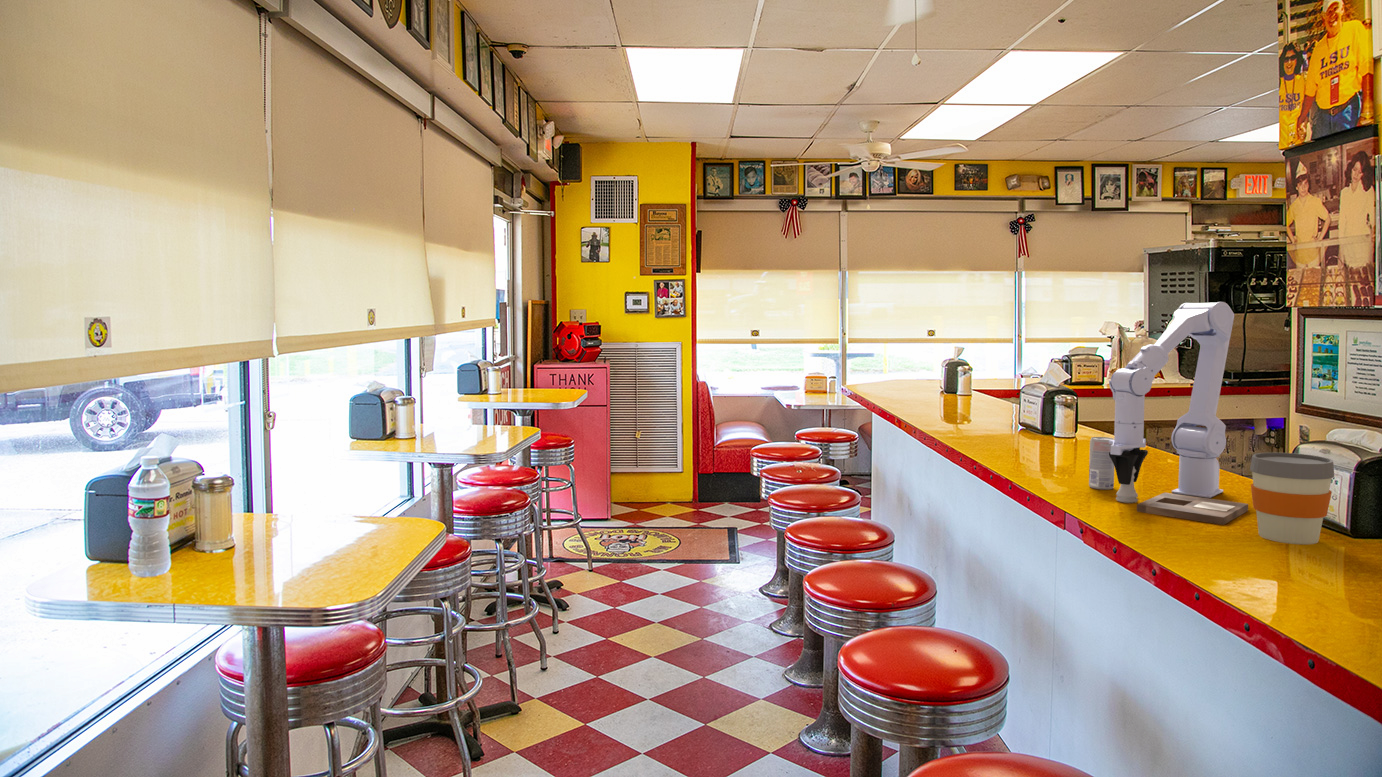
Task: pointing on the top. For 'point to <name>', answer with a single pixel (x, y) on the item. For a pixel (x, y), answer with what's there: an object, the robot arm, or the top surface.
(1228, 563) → the top surface
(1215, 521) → the hole board
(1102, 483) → the energy drink
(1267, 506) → the reusable coffee cup
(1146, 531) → the top surface
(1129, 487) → the rook chess piece
